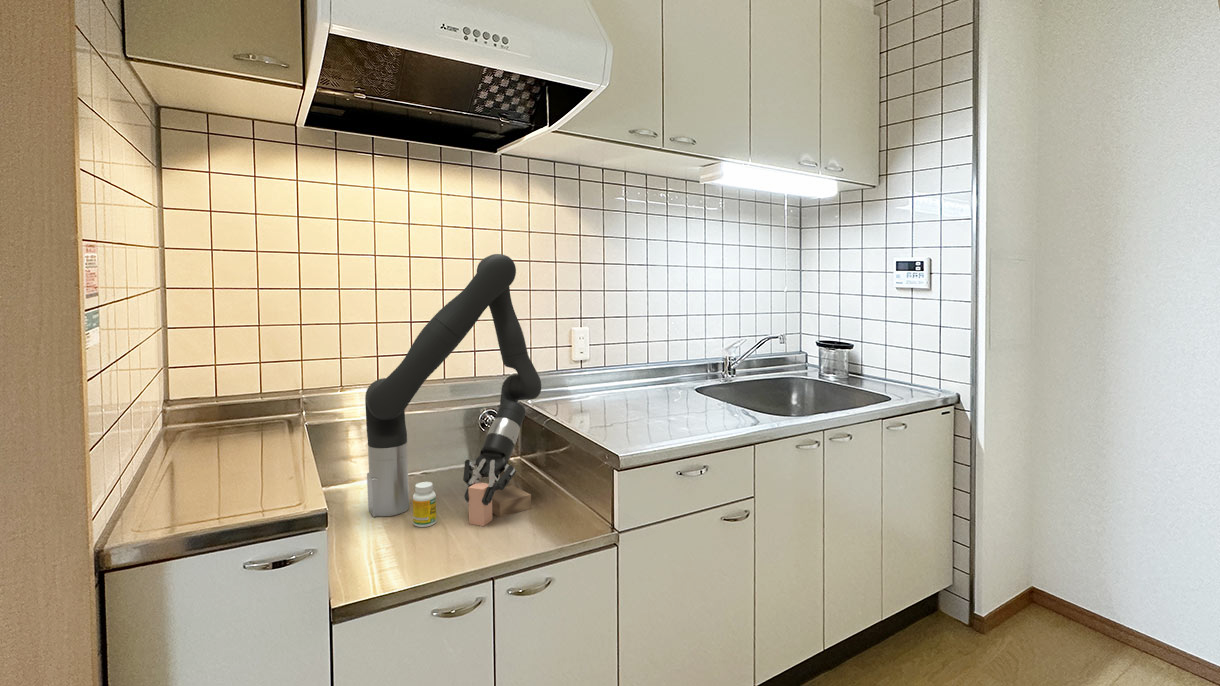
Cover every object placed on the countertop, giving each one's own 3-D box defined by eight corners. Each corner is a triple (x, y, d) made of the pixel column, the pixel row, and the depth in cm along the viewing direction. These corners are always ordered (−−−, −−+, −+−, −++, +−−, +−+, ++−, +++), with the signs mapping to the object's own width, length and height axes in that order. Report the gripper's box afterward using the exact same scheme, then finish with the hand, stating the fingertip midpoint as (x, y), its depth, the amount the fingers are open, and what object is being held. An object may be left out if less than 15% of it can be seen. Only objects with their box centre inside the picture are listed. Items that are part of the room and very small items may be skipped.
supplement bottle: (417, 518, 144) (415, 480, 143) (439, 518, 145) (438, 480, 144) (410, 527, 139) (409, 488, 138) (433, 527, 139) (432, 488, 138)
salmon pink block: (483, 526, 140) (483, 489, 139) (469, 523, 142) (468, 487, 141) (492, 519, 144) (491, 484, 143) (478, 517, 145) (477, 482, 144)
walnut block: (500, 518, 146) (499, 502, 145) (482, 507, 152) (482, 492, 152) (531, 509, 151) (531, 494, 151) (513, 499, 158) (513, 485, 158)
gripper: (470, 429, 150) (443, 491, 140) (521, 434, 145) (496, 499, 135) (482, 444, 155) (456, 505, 145) (531, 449, 151) (508, 513, 141)
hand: (476, 502), depth 140 cm, fingers closed on salmon pink block, 4 cm apart
